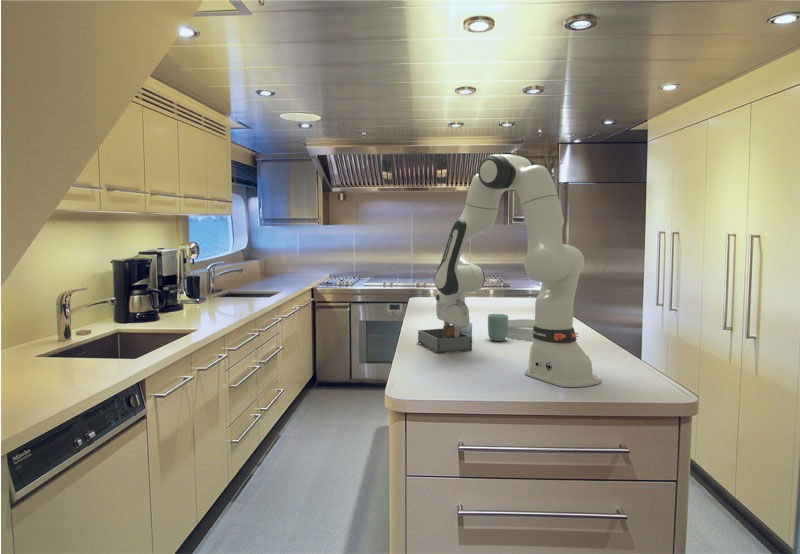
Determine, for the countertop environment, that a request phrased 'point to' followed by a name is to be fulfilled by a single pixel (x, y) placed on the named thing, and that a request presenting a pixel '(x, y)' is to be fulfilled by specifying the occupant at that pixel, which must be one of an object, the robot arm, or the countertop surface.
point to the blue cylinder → (468, 330)
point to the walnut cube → (450, 331)
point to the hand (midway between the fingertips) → (452, 335)
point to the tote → (443, 341)
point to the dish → (521, 329)
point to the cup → (497, 327)
